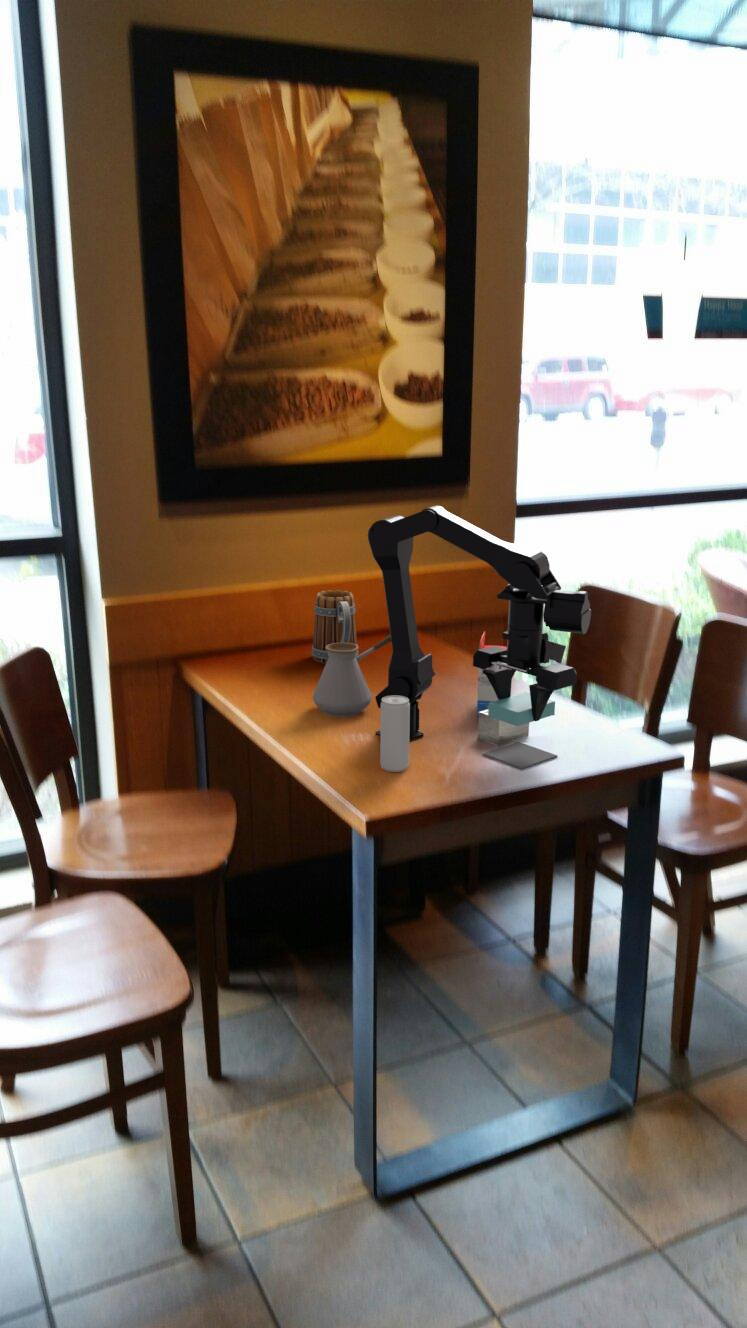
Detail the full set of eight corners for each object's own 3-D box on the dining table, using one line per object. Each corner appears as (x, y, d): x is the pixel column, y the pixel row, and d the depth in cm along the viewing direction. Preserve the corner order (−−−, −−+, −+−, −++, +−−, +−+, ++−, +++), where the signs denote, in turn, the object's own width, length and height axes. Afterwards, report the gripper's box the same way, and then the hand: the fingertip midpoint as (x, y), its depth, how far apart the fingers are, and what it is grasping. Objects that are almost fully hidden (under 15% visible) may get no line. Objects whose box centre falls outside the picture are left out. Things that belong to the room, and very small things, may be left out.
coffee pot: (330, 724, 202) (330, 646, 198) (302, 707, 212) (301, 633, 208) (425, 706, 213) (427, 632, 209) (394, 690, 222) (395, 619, 218)
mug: (306, 654, 248) (305, 590, 244) (350, 651, 251) (350, 587, 247) (324, 673, 234) (323, 605, 230) (370, 669, 237) (371, 602, 233)
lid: (517, 726, 179) (517, 712, 178) (488, 716, 184) (488, 702, 183) (554, 714, 185) (555, 701, 184) (525, 705, 190) (525, 692, 189)
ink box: (501, 716, 207) (504, 642, 203) (476, 715, 208) (478, 641, 204) (505, 703, 215) (508, 631, 211) (480, 701, 216) (483, 630, 212)
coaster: (521, 770, 180) (522, 767, 180) (482, 755, 187) (482, 753, 187) (557, 757, 186) (557, 755, 186) (517, 743, 193) (518, 741, 192)
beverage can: (408, 762, 184) (409, 694, 180) (409, 773, 179) (410, 704, 176) (379, 762, 183) (380, 695, 180) (380, 773, 179) (381, 704, 175)
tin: (498, 745, 191) (499, 719, 190) (477, 738, 195) (478, 712, 194) (528, 735, 196) (529, 709, 195) (508, 728, 200) (509, 703, 199)
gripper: (600, 630, 178) (594, 719, 183) (516, 609, 192) (512, 693, 196) (556, 641, 171) (551, 733, 176) (472, 619, 185) (469, 705, 189)
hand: (521, 715), depth 184 cm, fingers closed on lid, 7 cm apart
